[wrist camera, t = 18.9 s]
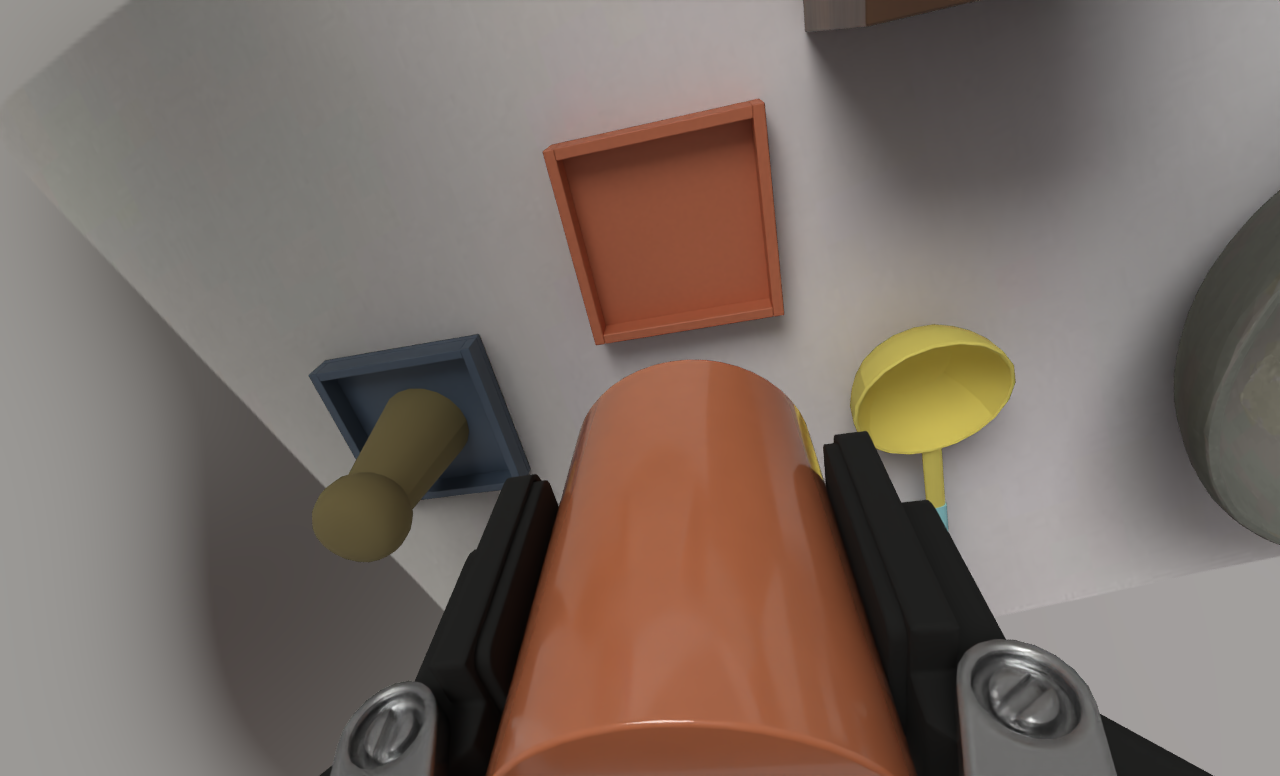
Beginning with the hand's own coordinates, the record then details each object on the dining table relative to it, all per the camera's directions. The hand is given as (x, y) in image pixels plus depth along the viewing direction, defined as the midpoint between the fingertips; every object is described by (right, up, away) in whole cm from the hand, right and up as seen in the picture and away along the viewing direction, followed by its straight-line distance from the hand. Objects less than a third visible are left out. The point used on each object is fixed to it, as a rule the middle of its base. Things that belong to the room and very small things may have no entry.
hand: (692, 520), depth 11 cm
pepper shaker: (-16, 0, +30) cm, 34 cm away
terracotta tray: (+1, +12, +22) cm, 25 cm away
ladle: (+19, -3, +30) cm, 35 cm away
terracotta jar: (0, +1, +2) cm, 2 cm away
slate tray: (-16, 0, +30) cm, 34 cm away
